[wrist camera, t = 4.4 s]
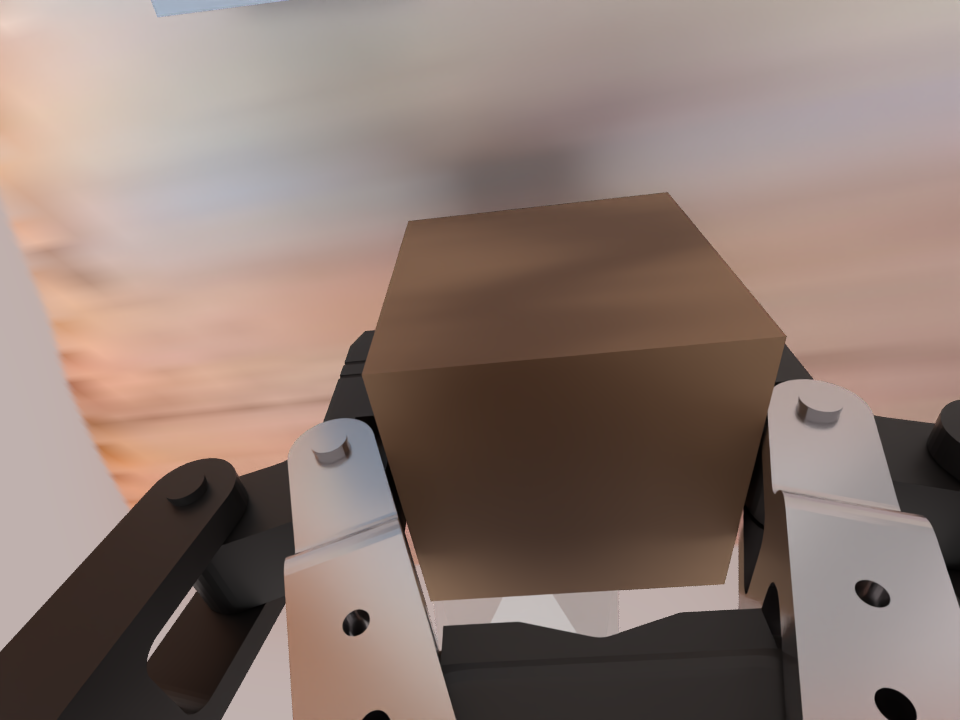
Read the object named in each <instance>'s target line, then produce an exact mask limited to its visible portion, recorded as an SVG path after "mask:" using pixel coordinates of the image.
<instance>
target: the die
mask: <svg viewBox="0 0 960 720" xmlns="http://www.w3.org/2000/svg"><path fill="white" fill-rule="evenodd" d="M433 604H434V614H435V624H436V634H437V642H438V645H439V648H440V651H441V650H442V636H443V626H448V625H466V624H484V623H502V622H523V623H528V624H533V625H538V626H543V627H548V628H553V629H558V630H563V631H567V632H572V633H577V634H582V635H587V636H592V637H608V636H611V635H614V634H617V633H619V590H616V591H599V592H582V593H565V594H547V595H530V596H513V597H496V598H479V599H462V600H445V601H433Z"/></svg>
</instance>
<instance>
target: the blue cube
mask: <svg viewBox="0 0 960 720" xmlns="http://www.w3.org/2000/svg"><path fill="white" fill-rule="evenodd" d="M279 1H287V0H151V2H152V4H153V7H154V9H155V12H156V15H157V17H163V16H171V15H179V14H187V13H194V12H202V11H210V10H217V9H225V8H233V7H240V6H248V5H256V4H264V3H271V2H279Z"/></svg>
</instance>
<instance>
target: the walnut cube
mask: <svg viewBox="0 0 960 720" xmlns="http://www.w3.org/2000/svg"><path fill="white" fill-rule="evenodd" d="M786 337H787V336H786V335H785V334H784V333H783V331H782V330H781V329H780V328H779V327H778V325H777V324H776V323H775V322H774V321H773V319H772V318H771V317H770V316H769V314H768V313H767V312H766V311H765V310H764V308H763V307H762V306H761V305H760V304H759V302H758V301H757V300H756V299H755V297H754V296H753V295H752V294H751V293H750V291H749V290H748V289H747V288H746V287H745V285H744V284H743V283H742V282H741V281H740V279H739V278H738V277H737V276H736V274H735V273H734V272H733V271H732V270H731V268H730V267H729V266H728V265H727V264H726V262H725V261H724V260H723V259H722V258H721V256H720V255H719V254H718V253H717V251H716V250H715V249H714V248H713V247H712V245H711V244H710V243H709V242H708V241H707V239H706V238H705V237H704V236H703V235H702V233H701V232H700V231H699V230H698V228H697V227H696V226H695V225H694V224H693V222H692V221H691V220H690V219H689V218H688V216H687V215H686V214H685V213H684V211H683V210H682V209H681V208H680V207H679V205H678V204H677V203H676V202H675V201H674V199H673V198H672V197H671V196H670V195H669V193H668V192H666V193H657V194H648V195H639V196H630V197H621V198H612V199H603V200H594V201H585V202H576V203H567V204H558V205H549V206H540V207H531V208H522V209H513V210H504V211H495V212H486V213H477V214H468V215H459V216H450V217H441V218H432V219H423V220H414V221H408V225H407V228H406V231H405V234H404V238H403V241H402V244H401V247H400V251H399V254H398V257H397V261H396V264H395V267H394V270H393V274H392V277H391V280H390V284H389V287H388V290H387V293H386V297H385V300H384V303H383V307H382V310H381V313H380V316H379V320H378V323H377V326H376V330H375V333H374V336H373V339H372V343H371V346H370V349H369V352H368V356H367V359H366V362H365V366H364V369H363V372H362V378H363V381H364V384H365V387H366V391H367V394H368V397H369V400H370V404H371V407H372V410H373V414H374V417H375V420H376V423H377V427H378V430H379V433H380V436H381V440H382V443H383V446H384V449H385V453H386V456H387V459H388V463H389V466H390V469H391V472H392V476H393V479H394V482H395V485H396V489H397V492H398V495H399V499H400V502H401V505H402V508H403V512H404V515H405V518H406V521H407V525H408V528H409V531H410V534H411V538H412V541H413V544H414V548H415V551H416V554H417V557H418V561H419V564H420V567H421V570H422V574H423V577H424V580H425V584H426V587H427V590H428V593H429V596H430V600H431V601H445V600H462V599H479V598H496V597H513V596H530V595H547V594H565V593H582V592H599V591H616V590H632V589H649V588H666V587H684V586H701V585H718V584H724V583H725V579H726V576H727V571H728V568H729V564H730V559H731V555H732V551H733V548H734V544H735V540H736V536H737V532H738V528H739V524H740V520H741V516H742V512H743V508H744V504H745V500H746V496H747V492H748V488H749V484H750V480H751V476H752V472H753V468H754V464H755V460H756V456H757V452H758V448H759V444H760V440H761V436H762V432H763V428H764V424H765V420H766V416H767V412H768V408H769V404H770V400H771V396H772V392H773V388H774V384H775V380H776V376H777V372H778V369H779V365H780V361H781V357H782V353H783V349H784V345H785V341H786Z"/></svg>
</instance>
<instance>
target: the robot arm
mask: <svg viewBox="0 0 960 720" xmlns="http://www.w3.org/2000/svg"><path fill="white" fill-rule="evenodd" d="M374 333H375V330H373V331H365V332H364V333H363V334H362V335H361V336H360V337H359V338H358V339H357V340H356V341H355V342H354V343H353V344H352V345H351V346H350V349H349V352H348V354H347V357H346V360H345V365H344V366H343V368H342V371H341V374H340V379H339V380H338V382H337V385H336V388H335V391H334V394H333V396H332V399H331V402H330V405H329V408H328V410H327V413H326V416H325V419H324V422H323V423H320V424H318V425H316V426H314V427H312V428H311V429H309V430H307V431H306V432H305V433H303V434H302V435H301V436H300V437H299V438H298V439H297V440H296V441H295V442H294V444H293V445H292V447H291V449H290V451H289V454H288V460H286V461H284V462H282V463H279V464H277V465H274V466H271V467H268V468H264V469H261V470H258V471H255V472H252V473H249V474H246V475H243V476H238V474H237V473H236V471H235V469H234V467H233V466H232V465H231V464H230V463H229V462H227V461H225V460H222V459H217V458H208V459H201V460H196V461H193V462H190V463H187V464H185V465H182V466H180V467H178V468H176V469H174V470H173V471H171V472H170V473H168V474H166V475H165V476H164V477H162V478H161V479H160V480H159V481H158V482H157V483H156V484H155V485H154V486H152V488H151V489H150V490H149V491H148V492H147V493H146V494H145V495H144V496H143V497H142V498H141V499H140V501H139V502H138V503H137V504H136V505H135V506H134V507H133V508H132V509H131V510H130V511H129V513H128V514H127V515H126V516H125V517H124V518H123V519H122V520H121V521H120V522H119V523H118V525H117V526H116V527H115V528H114V529H113V530H112V531H111V532H110V533H109V534H108V535H107V536H106V538H105V539H104V540H103V541H102V542H101V543H100V544H99V545H98V546H97V547H96V548H95V549H94V551H93V552H92V553H91V554H90V555H89V556H88V557H87V558H86V559H85V561H83V563H82V564H81V565H80V566H79V567H78V568H77V569H76V570H75V571H74V572H73V573H72V574H71V576H70V577H69V578H68V579H67V580H66V581H65V582H64V583H63V584H62V586H60V587H59V589H58V590H57V591H56V592H55V593H54V594H53V595H52V596H51V598H49V599H48V601H47V602H46V603H45V604H44V605H43V606H42V607H41V608H40V609H39V610H38V611H37V612H36V614H35V615H34V616H33V617H32V618H31V619H30V620H29V621H28V622H27V623H26V625H25V626H24V627H23V628H22V629H21V630H20V631H19V632H18V633H17V634H16V635H15V636H14V637H13V639H12V640H11V641H10V642H9V643H8V644H7V645H6V646H5V647H4V648H3V649H2V651H1V652H0V720H221V719H222V717H223V715H224V713H225V712H226V710H227V708H228V706H229V704H230V703H231V701H232V699H233V697H234V696H235V694H236V692H237V690H238V688H239V686H240V685H241V683H242V681H243V679H244V678H245V676H246V673H247V672H248V670H249V668H250V667H251V665H252V663H253V661H254V659H255V658H256V656H257V654H258V652H259V650H260V649H261V647H262V645H263V643H264V641H265V640H266V638H267V636H268V634H269V632H270V631H271V629H272V627H273V625H274V623H275V622H276V619H277V618H278V616H279V614H280V613H281V610H282V609H283V607H284V605H285V603H286V613H287V629H288V630H287V631H288V647H289V662H290V679H291V693H292V694H291V696H292V710H293V720H960V400H956V401H953V402H951V403H949V404H947V405H946V406H945V407H944V408H943V409H942V411H941V413H940V415H939V417H938V419H937V421H936V423H935V424H933V423H925V422H917V421H910V420H902V419H894V418H886V417H880V416H875V415H873V413H872V411H871V409H870V407H869V406H868V405H867V403H866V402H865V401H863V400H862V399H861V398H860V397H859V396H857V395H856V394H854V393H853V392H851V391H849V390H847V389H845V388H843V387H840V386H838V385H835V384H832V383H828V382H824V381H818V380H814V379H813V378H812V377H811V376H810V374H809V373H808V372H807V371H806V369H805V368H804V367H803V366H802V364H801V363H800V362H799V361H798V359H797V358H796V357H795V356H794V354H793V353H792V352H791V351H790V349H789V348H788V347H787V346H786V344H785V345H784V349H783V353H782V357H781V361H780V365H779V369H778V372H777V376H776V380H775V384H774V388H773V392H772V396H771V400H770V404H769V408H768V412H767V416H766V420H765V424H764V428H763V432H762V436H761V440H760V444H759V448H758V452H757V456H756V460H755V464H754V468H753V472H752V476H751V480H750V484H749V488H748V492H747V496H746V500H745V504H744V508H743V512H742V516H741V520H740V524H739V609H738V610H719V611H701V612H683V613H678V614H675V615H672V616H669V617H666V618H663V619H660V620H656V621H653V622H651V623H647V624H644V625H641V626H639V627H635V628H632V629H630V630H627V631H623V632H621V633H617V634H614V635H611V636H608V637H592V636H587V635H582V634H577V633H572V632H567V631H563V630H558V629H553V628H548V627H543V626H538V625H533V624H528V623H523V622H502V623H484V624H466V625H448V626H443V636H442V650H441V651H440V648H439V645H438V642H437V638H436V635H435V632H434V629H433V625H432V622H431V619H430V615H429V612H428V608H427V605H426V602H425V598H424V595H423V592H422V589H421V585H420V581H419V578H418V575H417V571H416V568H415V565H414V561H413V558H412V554H411V551H410V548H409V544H408V541H407V538H406V534H405V527H406V518H405V515H404V512H403V508H402V505H401V502H400V499H399V495H398V492H397V489H396V485H395V482H394V479H393V476H392V472H391V469H390V466H389V463H388V459H387V456H386V453H385V449H384V446H383V443H382V440H381V436H380V433H379V430H378V427H377V423H376V420H375V417H374V414H373V410H372V407H371V404H370V400H369V397H368V394H367V391H366V387H365V384H364V381H363V378H362V372H363V369H364V366H365V362H366V359H367V356H368V352H369V349H370V346H371V343H372V339H373V336H374ZM192 586H194V588H195V589H196V590H197V592H196V593H195V594H194V596H193V597H192V599H191V600H190V602H189V603H188V605H187V606H186V607H185V609H184V610H183V612H182V613H181V614H180V616H179V617H178V619H177V620H176V622H175V623H174V624H173V626H172V627H171V629H170V630H169V632H168V633H167V634H166V636H165V637H164V639H163V640H162V642H161V643H160V645H159V646H158V647H157V649H156V650H155V652H154V653H153V654H152V656H151V657H150V659H149V660H148V662H147V657H148V654H149V651H150V648H151V646H152V644H153V642H154V640H155V638H156V637H157V635H158V634H159V632H160V631H161V629H162V628H163V627H164V625H165V624H166V622H167V621H168V620H169V618H170V617H171V615H172V614H173V613H174V611H175V610H176V609H177V607H178V606H179V604H180V603H181V601H182V600H183V599H184V597H185V596H186V595H187V593H188V592H189V590H190V589H191V587H192Z"/></svg>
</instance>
